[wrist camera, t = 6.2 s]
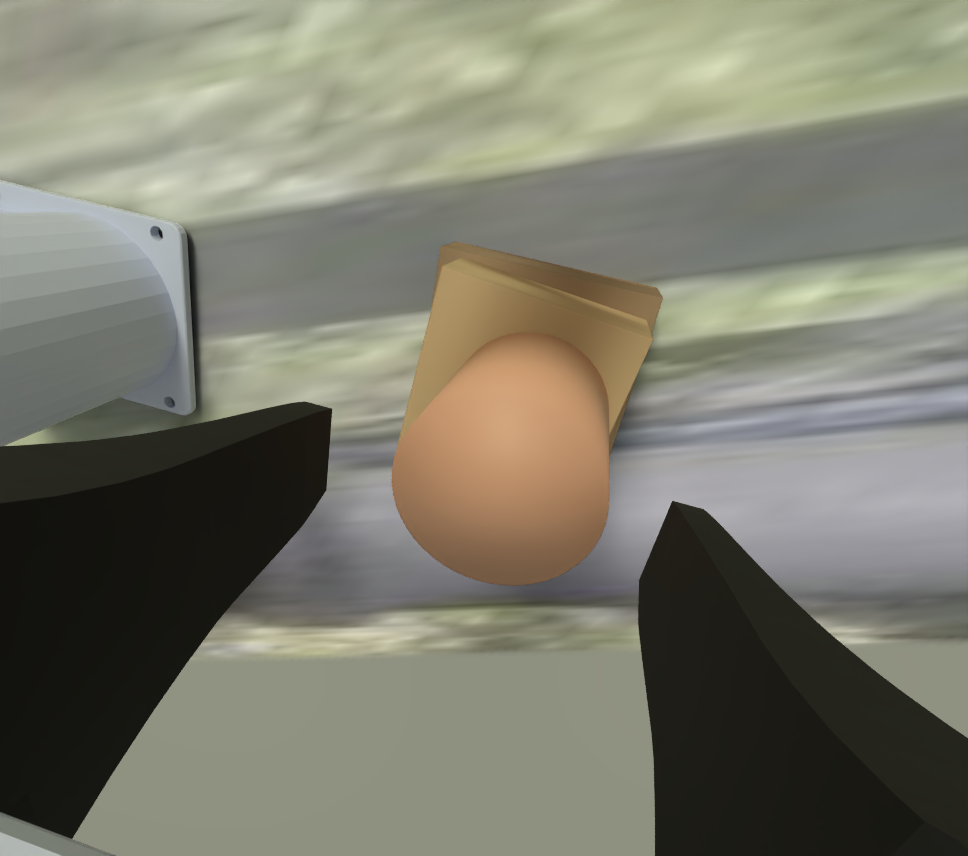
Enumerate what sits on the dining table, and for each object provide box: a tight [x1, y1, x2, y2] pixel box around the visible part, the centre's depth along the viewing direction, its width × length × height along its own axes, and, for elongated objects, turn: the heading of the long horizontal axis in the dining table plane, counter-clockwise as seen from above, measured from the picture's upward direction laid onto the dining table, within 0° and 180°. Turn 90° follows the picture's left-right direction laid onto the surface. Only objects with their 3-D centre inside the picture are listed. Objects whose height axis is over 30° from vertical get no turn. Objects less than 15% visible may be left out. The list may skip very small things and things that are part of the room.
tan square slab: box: [431, 242, 663, 455], centre depth 19 cm, size 7×7×2 cm
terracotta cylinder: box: [392, 332, 609, 585], centre depth 13 cm, size 5×5×5 cm
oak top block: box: [397, 257, 653, 448], centre depth 16 cm, size 6×6×2 cm
